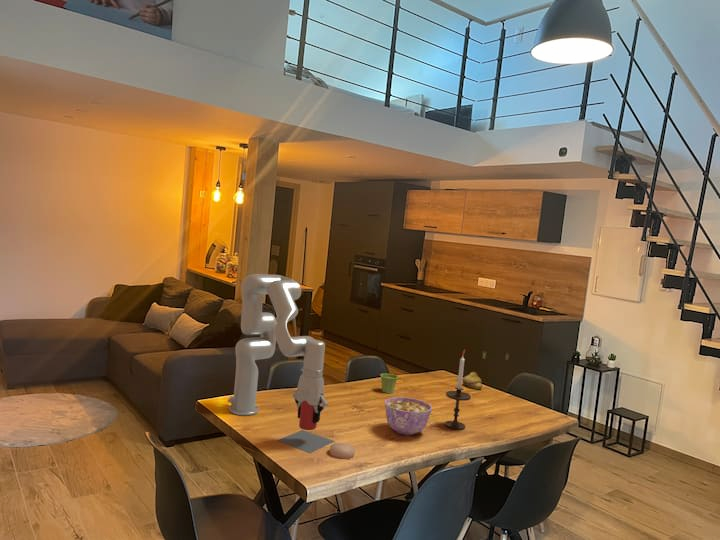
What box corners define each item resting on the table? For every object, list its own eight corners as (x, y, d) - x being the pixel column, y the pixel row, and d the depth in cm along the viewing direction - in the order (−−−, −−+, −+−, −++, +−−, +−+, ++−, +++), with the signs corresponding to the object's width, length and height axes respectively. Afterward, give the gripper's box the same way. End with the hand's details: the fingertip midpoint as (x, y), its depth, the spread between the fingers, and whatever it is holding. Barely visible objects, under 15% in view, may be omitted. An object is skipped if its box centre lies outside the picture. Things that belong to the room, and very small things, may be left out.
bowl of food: (395, 442, 212) (398, 413, 211) (374, 424, 230) (376, 397, 229) (438, 439, 220) (441, 411, 219) (414, 421, 238) (417, 396, 237)
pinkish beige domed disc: (324, 451, 195) (325, 444, 195) (345, 448, 200) (345, 441, 200) (338, 461, 188) (339, 454, 188) (358, 458, 193) (359, 451, 193)
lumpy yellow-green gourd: (485, 390, 305) (487, 376, 304) (470, 390, 302) (472, 376, 301) (473, 384, 317) (475, 370, 317) (459, 384, 314) (460, 370, 313)
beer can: (319, 426, 204) (321, 396, 203) (312, 432, 198) (314, 400, 197) (303, 423, 206) (306, 392, 206) (295, 428, 200) (298, 397, 199)
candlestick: (462, 422, 244) (470, 346, 242) (470, 431, 233) (480, 352, 231) (439, 421, 242) (447, 345, 240) (447, 430, 231) (456, 350, 229)
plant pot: (377, 388, 286) (379, 372, 285) (394, 389, 287) (396, 374, 286) (380, 393, 277) (381, 377, 276) (398, 395, 278) (399, 378, 277)
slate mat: (275, 441, 200) (276, 440, 200) (302, 431, 213) (302, 429, 213) (309, 454, 191) (310, 453, 191) (335, 442, 205) (335, 441, 205)
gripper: (288, 370, 202) (284, 416, 203) (325, 379, 193) (320, 428, 194) (300, 367, 209) (296, 412, 209) (337, 376, 199) (332, 423, 200)
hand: (308, 419), depth 202 cm, fingers closed on beer can, 6 cm apart
